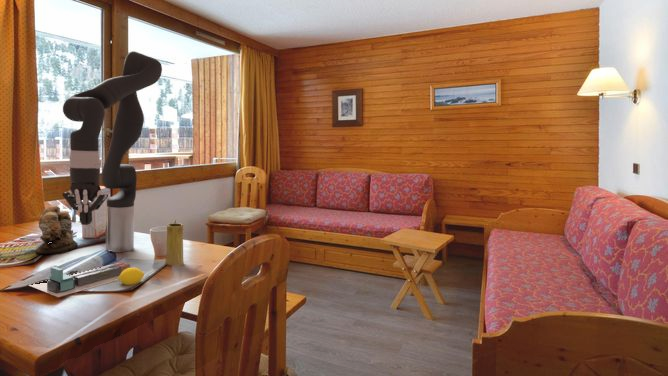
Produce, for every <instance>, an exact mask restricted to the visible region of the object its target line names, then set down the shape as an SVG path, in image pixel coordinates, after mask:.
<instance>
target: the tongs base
mask: <svg viewBox="0 0 668 376" xmlns="http://www.w3.org/2000/svg"><path fill="white" fill-rule="evenodd" d="M130 265H131V264H130V263H125V264H122V265H118V266H116V267H112V268H108V269H104V270H100V271H96V272H92V273H88V274H84V275H80V276H77V277H75V279H73V288H72V289H75V285H77V286H81V285H84V284H88V283H92V282H95V281H99V280H102V279H106V278H110V277H113V276H117V275H120V274H121V273H122V271H124V270H125V269H127V268H131V266H130ZM47 280H48V281H47ZM47 280H46V281H47V290H48V291H51V292H53V293H56V294H57V293H60V292H64V291H60V282H57V281H54V280H49V279H47ZM68 290H71V289H68ZM65 291H67V290H65Z"/></svg>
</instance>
